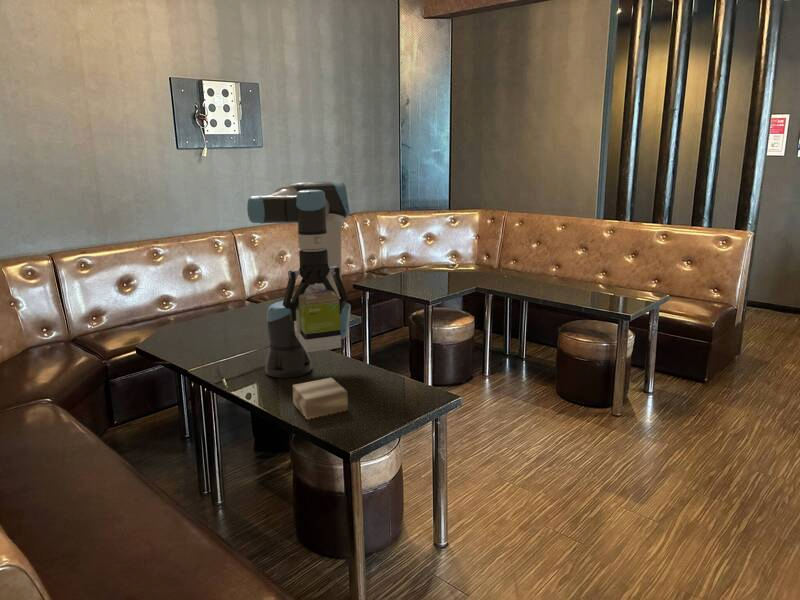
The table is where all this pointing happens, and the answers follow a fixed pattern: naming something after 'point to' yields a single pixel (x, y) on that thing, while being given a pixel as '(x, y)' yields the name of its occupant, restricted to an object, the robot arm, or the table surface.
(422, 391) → the table surface
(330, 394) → the oak block
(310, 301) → the tea box
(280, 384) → the table surface
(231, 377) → the table surface
